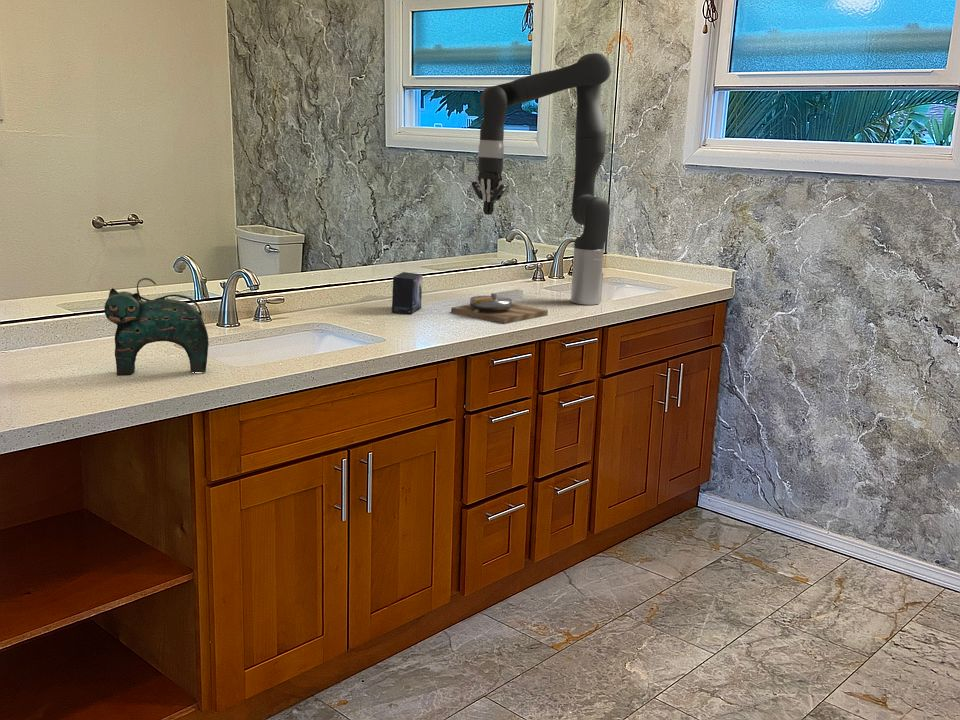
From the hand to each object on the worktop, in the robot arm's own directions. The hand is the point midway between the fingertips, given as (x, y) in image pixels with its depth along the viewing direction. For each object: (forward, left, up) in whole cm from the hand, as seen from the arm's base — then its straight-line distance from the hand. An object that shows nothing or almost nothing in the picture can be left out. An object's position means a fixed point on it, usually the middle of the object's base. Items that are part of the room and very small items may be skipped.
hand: (488, 214), depth 289 cm
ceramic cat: (+119, +11, -27) cm, 123 cm away
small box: (+29, -5, -27) cm, 40 cm away
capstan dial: (+11, +14, -25) cm, 31 cm away
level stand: (+11, +15, -27) cm, 33 cm away
